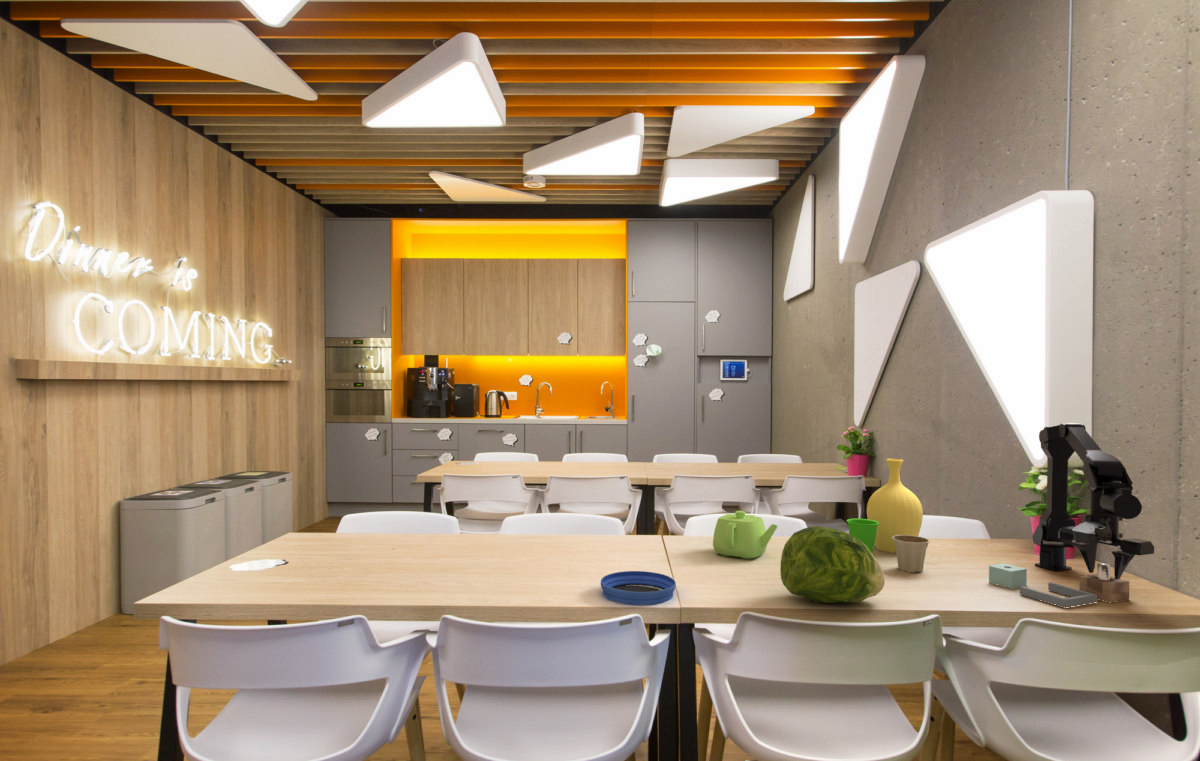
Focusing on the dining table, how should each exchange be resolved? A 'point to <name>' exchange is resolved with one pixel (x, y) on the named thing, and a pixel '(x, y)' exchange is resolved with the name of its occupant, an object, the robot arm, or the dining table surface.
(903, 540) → the flower pot
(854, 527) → the cup
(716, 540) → the teapot
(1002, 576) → the block
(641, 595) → the bowl
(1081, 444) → the robot arm
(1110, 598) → the block
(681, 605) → the dining table surface
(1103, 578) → the cylinder
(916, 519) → the vase
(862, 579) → the lettuce
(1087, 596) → the grey u-shaped bracket
